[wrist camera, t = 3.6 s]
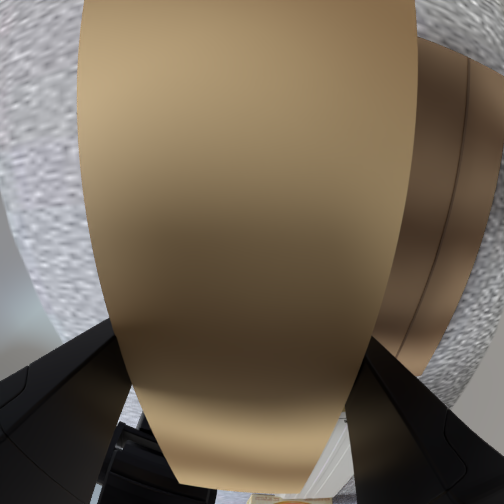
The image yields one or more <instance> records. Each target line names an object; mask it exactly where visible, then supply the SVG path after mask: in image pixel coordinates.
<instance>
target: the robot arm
mask: <svg viewBox="0 0 504 504" xmlns="http://www.w3.org/2000/svg"><path fill="white" fill-rule="evenodd" d="M131 386H132V382H131V380H130V377H129V375H128V372H127V369H126V366H125V363H124V360H123V356H122V353H121V350H120V347H119V343H118V340H117V337H116V336H115V334H114V331H113V327H112V324H111V321H110V317H109V318H108V319H106V320H104V321H102V322H101V323H99V324H97V325H96V326H94V327H92V328H90V329H89V330H87V331H85V332H84V333H82V334H80V335H78V336H77V337H75V338H73V339H72V340H70V341H68V342H66V343H65V344H63V345H61V346H60V347H58V348H56V349H55V350H53V351H51V352H50V353H48V354H46V355H44V356H43V357H41V358H39V359H38V360H36V361H34V362H33V363H31V364H30V365H29V366H26V367H24V368H23V369H21V370H19V371H17V372H16V373H14V374H12V375H10V376H9V377H7V378H5V379H3V380H1V381H0V504H90V501H91V498H92V494H93V491H94V488H95V485H96V483H97V484H99V485H102V489H101V492H100V496H99V500H98V503H97V504H215V500H216V495H217V489H211V488H204V487H197V486H191V485H185V484H180V483H179V482H178V480H177V478H176V476H175V475H174V473H173V471H172V469H171V467H170V466H169V464H168V462H167V460H166V458H165V456H164V454H163V452H162V450H161V448H160V446H159V444H158V442H157V440H156V438H155V436H154V434H153V432H152V429H151V427H150V425H149V423H148V421H147V418H146V416H145V414H144V412H143V411H142V414H141V416H140V419H139V422H138V424H137V427H136V429H135V428H133V427H130V426H128V425H126V423H123V422H121V421H120V422H119V423H118V426H116V425H117V422H118V420H119V417H120V414H121V412H122V409H123V407H124V404H125V401H126V399H127V396H128V394H129V391H130V388H131ZM447 409H448V408H447V406H446V405H445V404H444V403H443V402H441V401H440V400H439V399H438V398H437V397H436V396H435V395H434V394H433V393H432V392H431V391H430V390H429V389H428V388H427V387H426V386H425V385H424V384H423V383H422V382H421V381H420V380H419V379H418V378H417V377H416V376H414V375H413V374H412V373H411V372H410V371H409V370H408V369H407V368H406V367H405V366H404V365H403V364H402V363H401V362H400V361H399V360H398V359H397V358H396V357H394V356H393V355H392V354H391V353H390V352H389V351H388V350H387V349H386V348H385V347H384V346H383V345H382V344H381V343H380V342H379V341H377V340H376V339H375V338H374V337H373V336H372V335H371V338H370V341H369V344H368V347H367V350H366V353H365V355H364V358H363V361H362V364H361V366H360V369H359V371H358V374H357V377H356V379H355V382H354V384H353V387H352V389H351V391H350V394H349V396H348V399H347V401H346V403H345V413H346V420H347V426H348V433H349V440H350V447H351V454H352V462H353V470H354V478H355V487H356V496H357V504H504V456H502V455H501V454H500V453H499V452H498V451H496V450H495V449H494V448H493V447H491V446H490V445H489V444H488V443H486V442H485V441H484V440H483V439H482V438H480V437H479V436H478V435H477V434H476V433H474V432H473V431H472V430H471V429H470V428H469V427H468V426H467V425H465V424H464V423H463V422H462V421H461V420H460V419H459V418H458V417H457V416H456V415H455V414H454V413H453V412H452V411H451V410H450V409H448V410H447ZM121 448H123V450H122V449H121Z"/></svg>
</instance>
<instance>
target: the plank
mask: <svg viewBox="0 0 504 504" xmlns="http://www.w3.org/2000/svg"><path fill="white" fill-rule="evenodd" d="M417 85H418V46H417V24H416V10H415V0H84V6H83V13H82V21H81V29H80V40H79V52H78V71H77V125H78V144H79V157H80V168H81V178H82V187H83V195H84V202H85V209H86V215H87V221H88V227H89V233H90V238H91V243H92V249H93V253H94V258H95V263H96V267H97V272H98V276H99V280H100V284H101V288H102V292H103V296H104V300H105V303H106V307H107V311H108V314H109V317H110V321H111V324H112V327H113V331H114V334H115V336H116V337H117V340H118V343H119V347H120V350H121V353H122V356H123V360H124V363H125V366H126V369H127V372H128V375H129V377H130V380H131V382H132V385H133V388H134V390H135V393H136V395H137V397H138V400H139V402H140V405H141V407H142V409H143V412H144V414H145V416H146V418H147V421H148V423H149V425H150V427H151V429H152V432H153V434H154V436H155V438H156V440H157V442H158V444H159V446H160V448H161V450H162V452H163V454H164V456H165V458H166V460H167V462H168V464H169V466H170V467H171V469H172V471H173V473H174V475H175V476H176V478H177V480H178V482H179V483H180V484H185V485H191V486H197V487H204V488H211V489H218V490H227V491H237V492H251V493H273V494H300V492H301V490H302V489H303V487H304V485H305V483H306V482H307V480H308V478H309V476H310V475H311V473H312V471H313V469H314V467H315V465H316V464H317V462H318V460H319V458H320V456H321V454H322V452H323V450H324V448H325V446H326V444H327V442H328V440H329V438H330V436H331V434H332V432H333V430H334V428H335V426H336V423H337V421H338V419H339V417H340V415H341V412H342V410H343V408H344V406H345V403H346V401H347V399H348V396H349V394H350V391H351V389H352V387H353V384H354V382H355V379H356V377H357V374H358V371H359V369H360V366H361V364H362V361H363V358H364V355H365V353H366V350H367V347H368V344H369V341H370V338H371V335H372V332H373V329H374V326H375V323H376V320H377V317H378V314H379V310H380V307H381V304H382V300H383V297H384V293H385V290H386V286H387V283H388V279H389V275H390V271H391V267H392V263H393V259H394V255H395V251H396V247H397V242H398V238H399V233H400V228H401V223H402V218H403V213H404V207H405V202H406V196H407V190H408V183H409V177H410V170H411V162H412V154H413V145H414V135H415V123H416V108H417Z"/></svg>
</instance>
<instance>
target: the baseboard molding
mask: <svg viewBox="0 0 504 504" xmlns="http://www.w3.org/2000/svg"><path fill="white" fill-rule="evenodd" d="M353 475H354V470H353V462H352V454H351V447H350V440H349V433H348V426H347V420H346V413H345V406H344V408H343V410H342V412H341V415H340V417H339V419H338V421H337V423H336V426H335V428H334V430H333V432H332V434H331V436H330V438H329V440H328V442H327V444H326V446H325V448H324V450H323V452H322V454H321V456H320V458H319V460H318V462H317V464H316V465H315V467H314V469H313V471H312V473H311V475H310V476H309V478H308V480H307V482H306V483H305V485H304V487H303V489H302V490H301V492H300V494H275V497H281V498H282V499H307V498H313V499H315V498H330V497H334V496H335V495H336V494H337V493H338V492H339V491H340V490H341V489H342V487H343V486H344V485H345V484H346V483H347V482H348V481H349V480H350V478H351V477H352V476H353Z"/></svg>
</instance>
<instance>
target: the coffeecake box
mask: <svg viewBox="0 0 504 504" xmlns="http://www.w3.org/2000/svg"><path fill="white" fill-rule="evenodd" d="M247 504H332V497H330V498H315V499H313V498H307V499H282V498H281V497H275V495H260V494H252V495H251V496H250V498H249V500H248V501H247Z"/></svg>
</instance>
